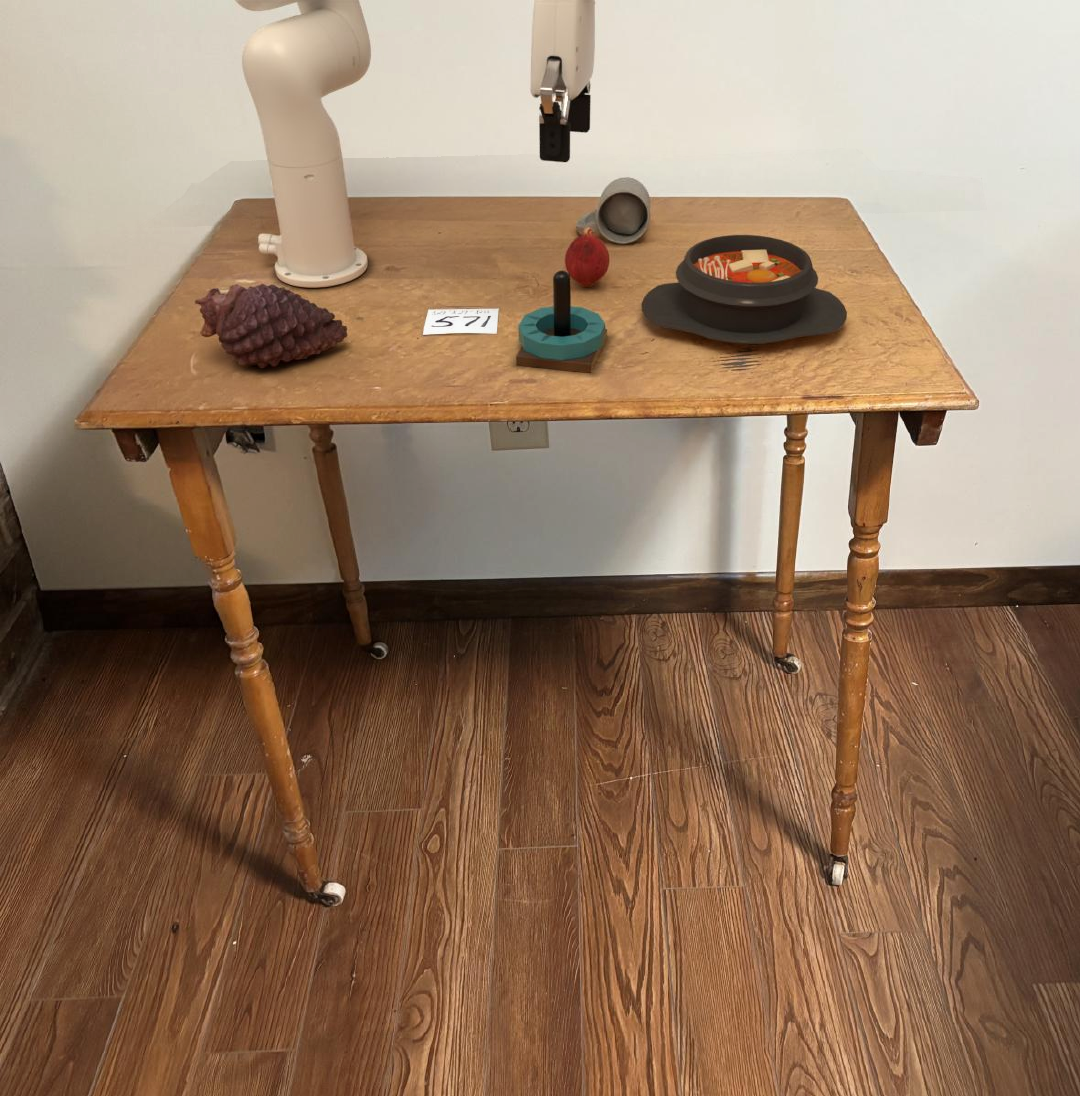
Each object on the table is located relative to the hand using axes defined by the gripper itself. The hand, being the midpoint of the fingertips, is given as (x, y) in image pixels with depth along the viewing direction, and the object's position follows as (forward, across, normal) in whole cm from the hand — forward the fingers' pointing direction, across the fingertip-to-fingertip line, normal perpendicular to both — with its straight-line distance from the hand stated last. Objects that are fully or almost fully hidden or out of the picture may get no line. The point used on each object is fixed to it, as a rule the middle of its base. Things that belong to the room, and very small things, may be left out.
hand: (565, 145), depth 120 cm
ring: (+22, +4, +1) cm, 22 cm away
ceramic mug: (+23, -32, 0) cm, 39 cm away
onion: (+23, -14, 0) cm, 27 cm away
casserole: (+23, -8, +21) cm, 32 cm away
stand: (+23, +4, +1) cm, 23 cm away
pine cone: (+24, +13, -32) cm, 42 cm away
